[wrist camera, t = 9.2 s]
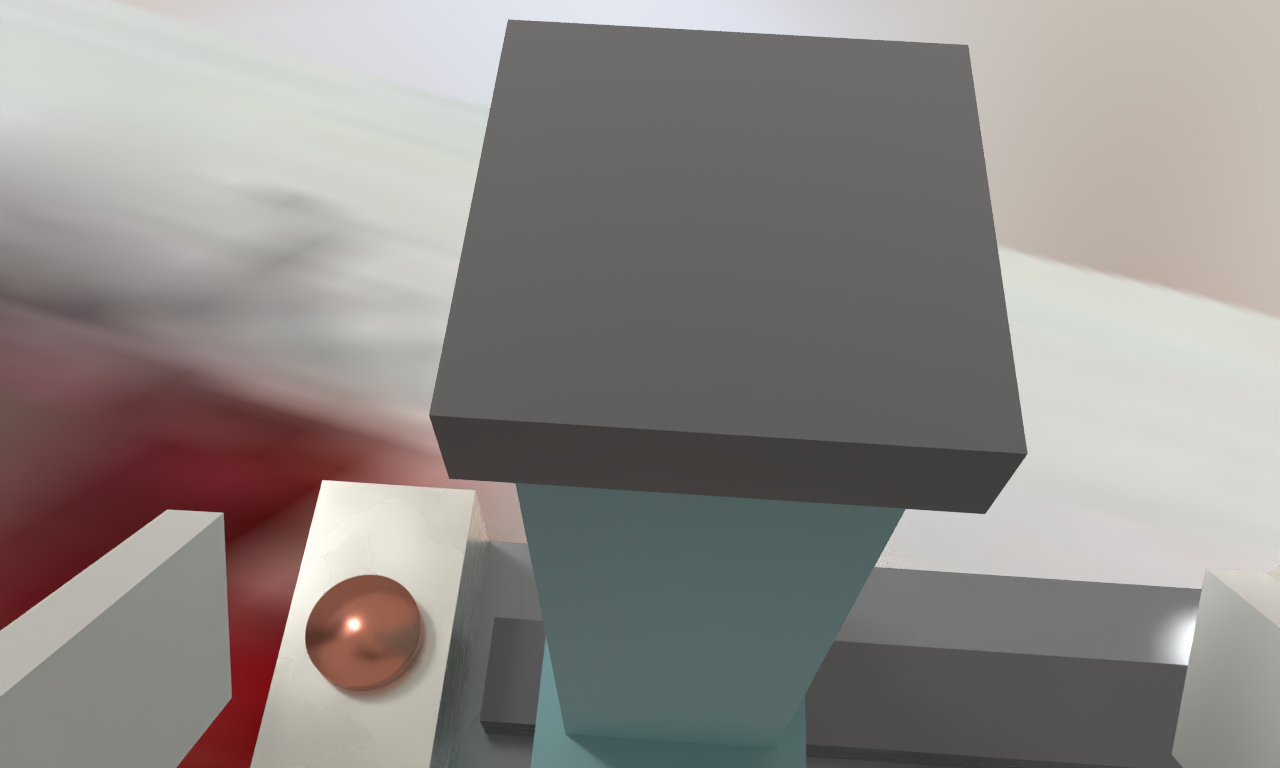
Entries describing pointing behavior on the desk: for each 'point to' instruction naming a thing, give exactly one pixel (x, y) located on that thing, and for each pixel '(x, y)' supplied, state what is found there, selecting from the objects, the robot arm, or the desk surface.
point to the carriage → (720, 362)
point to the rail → (834, 702)
